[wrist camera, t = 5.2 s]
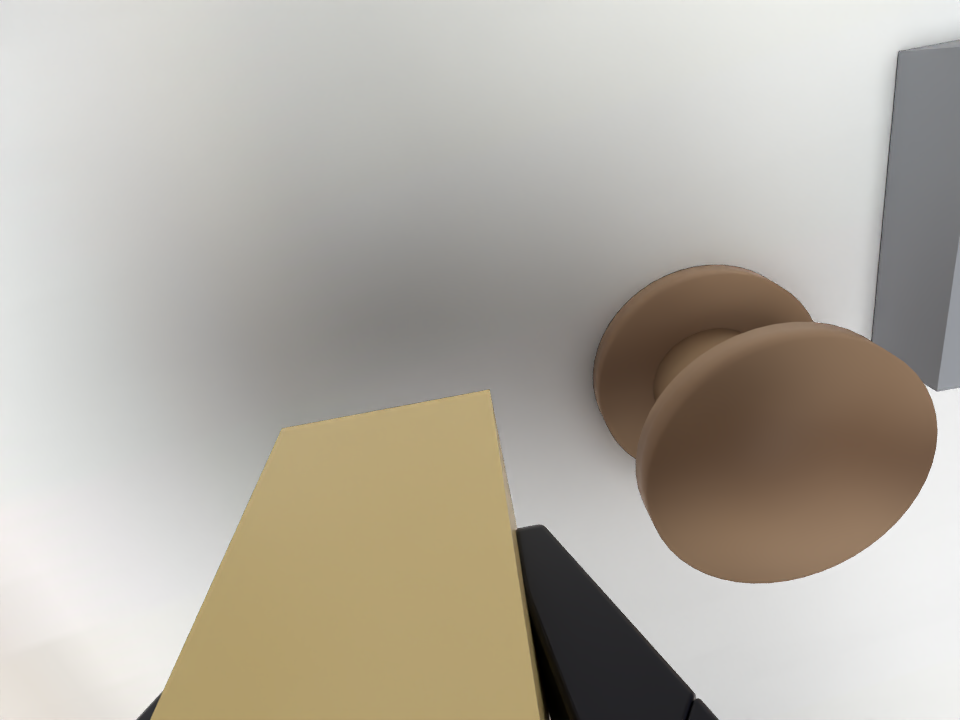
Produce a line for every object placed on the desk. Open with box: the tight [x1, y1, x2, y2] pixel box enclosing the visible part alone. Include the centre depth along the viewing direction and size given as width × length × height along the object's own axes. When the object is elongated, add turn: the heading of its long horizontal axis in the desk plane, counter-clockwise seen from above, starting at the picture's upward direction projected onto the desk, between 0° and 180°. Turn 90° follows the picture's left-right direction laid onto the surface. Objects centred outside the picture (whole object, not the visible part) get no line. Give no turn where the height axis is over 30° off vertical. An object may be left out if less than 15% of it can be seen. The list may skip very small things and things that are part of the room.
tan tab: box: [150, 389, 551, 720], centre depth 7 cm, size 4×3×5 cm
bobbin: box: [593, 265, 937, 583], centre depth 18 cm, size 7×7×6 cm
